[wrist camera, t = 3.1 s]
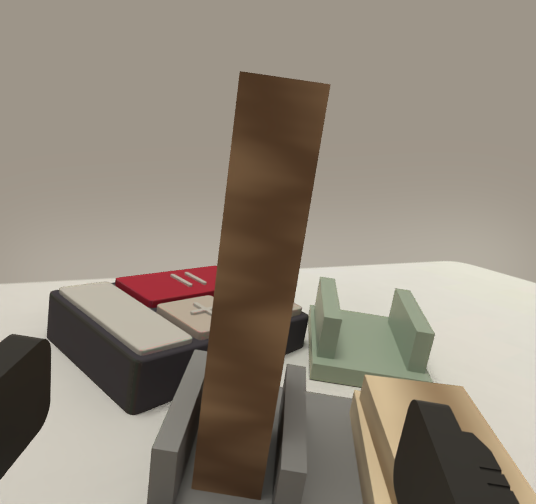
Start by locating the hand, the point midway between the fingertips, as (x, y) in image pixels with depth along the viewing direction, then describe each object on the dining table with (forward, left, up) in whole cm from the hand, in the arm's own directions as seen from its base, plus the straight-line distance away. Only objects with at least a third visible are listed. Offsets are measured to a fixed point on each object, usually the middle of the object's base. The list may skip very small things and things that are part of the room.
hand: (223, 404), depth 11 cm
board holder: (+8, +25, -11) cm, 29 cm away
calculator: (-5, +23, -12) cm, 26 cm away
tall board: (0, +10, -10) cm, 14 cm away
